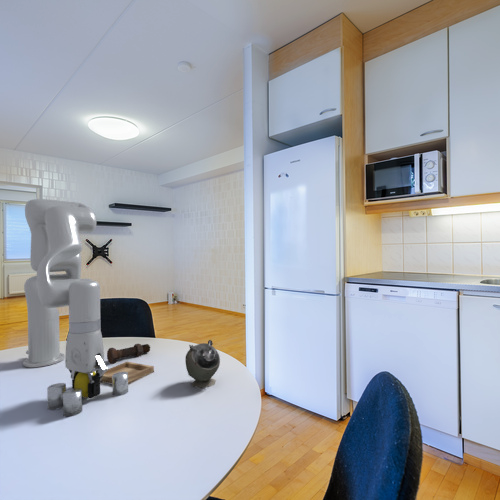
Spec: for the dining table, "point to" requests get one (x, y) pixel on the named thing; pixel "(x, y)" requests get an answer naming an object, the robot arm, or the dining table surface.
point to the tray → (128, 371)
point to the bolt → (126, 352)
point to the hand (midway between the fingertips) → (86, 393)
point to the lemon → (82, 383)
